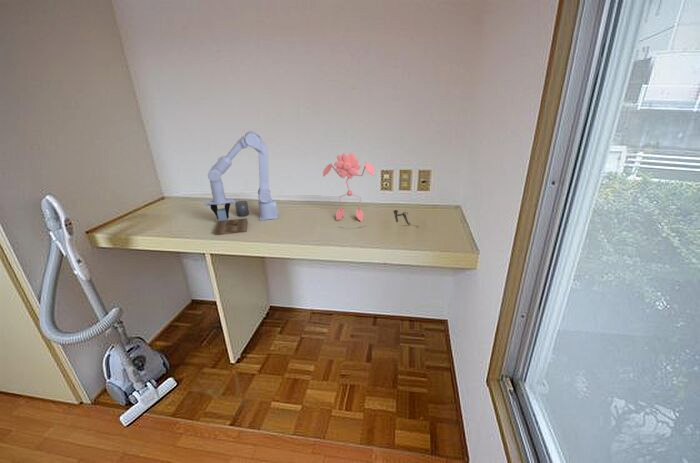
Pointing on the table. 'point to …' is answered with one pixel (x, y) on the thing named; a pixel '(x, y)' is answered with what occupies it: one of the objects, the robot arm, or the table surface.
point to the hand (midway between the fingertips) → (223, 218)
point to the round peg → (242, 208)
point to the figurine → (348, 168)
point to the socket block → (231, 226)
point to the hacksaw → (404, 217)
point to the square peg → (222, 214)
